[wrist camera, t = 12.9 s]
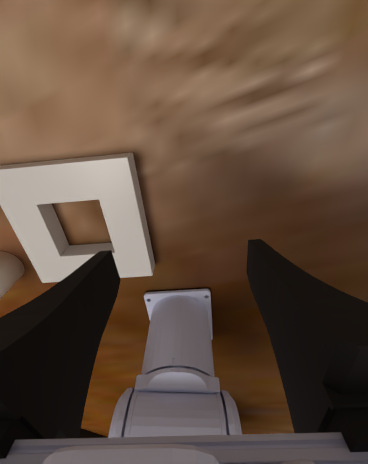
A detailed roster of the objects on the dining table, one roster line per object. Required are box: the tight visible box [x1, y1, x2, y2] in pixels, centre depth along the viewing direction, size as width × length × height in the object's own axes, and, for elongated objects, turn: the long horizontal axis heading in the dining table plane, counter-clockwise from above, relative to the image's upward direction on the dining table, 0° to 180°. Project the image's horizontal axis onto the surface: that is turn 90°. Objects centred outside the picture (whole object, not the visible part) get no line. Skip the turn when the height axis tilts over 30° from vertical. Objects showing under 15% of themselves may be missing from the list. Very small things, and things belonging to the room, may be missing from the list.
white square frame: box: [0, 153, 155, 283], centre depth 22 cm, size 12×12×2 cm
